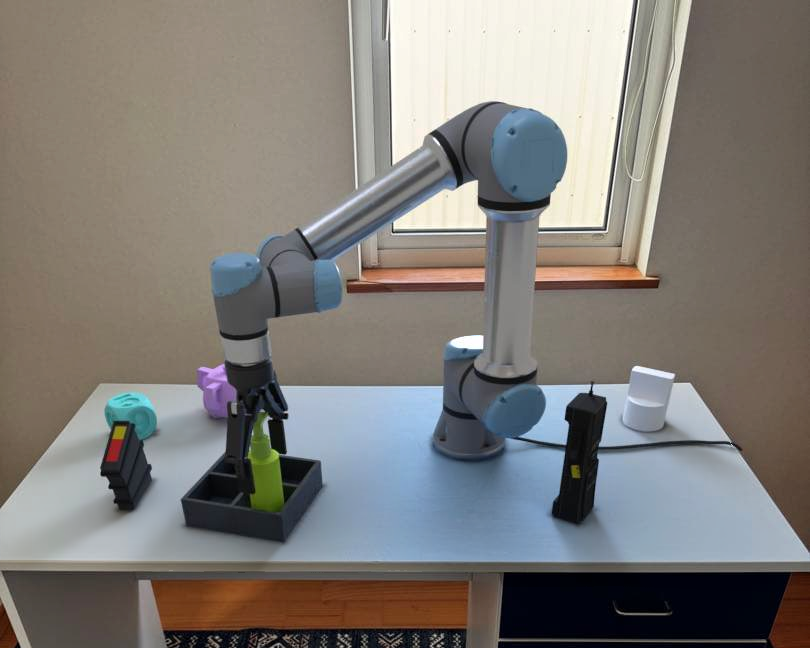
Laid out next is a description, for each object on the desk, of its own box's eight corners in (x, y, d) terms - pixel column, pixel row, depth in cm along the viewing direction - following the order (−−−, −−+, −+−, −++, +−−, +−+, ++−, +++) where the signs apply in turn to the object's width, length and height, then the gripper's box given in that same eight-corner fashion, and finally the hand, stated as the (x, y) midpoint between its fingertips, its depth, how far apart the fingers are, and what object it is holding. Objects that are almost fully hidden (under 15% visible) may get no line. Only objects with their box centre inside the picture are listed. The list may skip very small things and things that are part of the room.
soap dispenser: (290, 506, 141) (279, 410, 129) (281, 528, 136) (269, 429, 124) (259, 505, 142) (246, 408, 130) (249, 526, 136) (234, 427, 124)
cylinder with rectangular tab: (617, 425, 169) (626, 375, 162) (630, 409, 175) (639, 360, 168) (656, 435, 165) (668, 384, 158) (668, 419, 171) (680, 369, 164)
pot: (223, 390, 184) (216, 344, 177) (287, 402, 179) (282, 355, 172) (180, 423, 170) (171, 375, 163) (248, 436, 165) (241, 387, 158)
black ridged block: (158, 464, 152) (132, 419, 139) (144, 521, 146) (115, 479, 133) (139, 464, 152) (112, 418, 139) (125, 520, 146) (94, 479, 133)
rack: (322, 485, 149) (320, 460, 145) (284, 542, 134) (281, 515, 130) (233, 472, 153) (229, 447, 150) (186, 525, 138) (180, 499, 135)
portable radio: (579, 528, 137) (600, 403, 122) (548, 518, 140) (565, 395, 125) (594, 508, 142) (616, 385, 127) (564, 498, 145) (582, 377, 130)
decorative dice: (141, 421, 171) (134, 388, 166) (160, 433, 166) (153, 400, 162) (109, 433, 166) (100, 400, 162) (127, 445, 162) (118, 412, 157)
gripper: (258, 327, 130) (272, 435, 143) (188, 388, 111) (211, 507, 124) (299, 331, 129) (309, 440, 141) (234, 393, 109) (253, 513, 122)
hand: (264, 472), depth 133 cm, fingers open, 13 cm apart
